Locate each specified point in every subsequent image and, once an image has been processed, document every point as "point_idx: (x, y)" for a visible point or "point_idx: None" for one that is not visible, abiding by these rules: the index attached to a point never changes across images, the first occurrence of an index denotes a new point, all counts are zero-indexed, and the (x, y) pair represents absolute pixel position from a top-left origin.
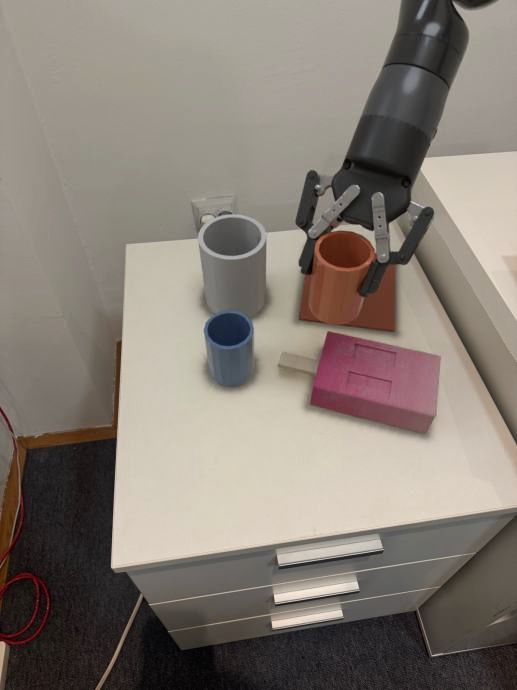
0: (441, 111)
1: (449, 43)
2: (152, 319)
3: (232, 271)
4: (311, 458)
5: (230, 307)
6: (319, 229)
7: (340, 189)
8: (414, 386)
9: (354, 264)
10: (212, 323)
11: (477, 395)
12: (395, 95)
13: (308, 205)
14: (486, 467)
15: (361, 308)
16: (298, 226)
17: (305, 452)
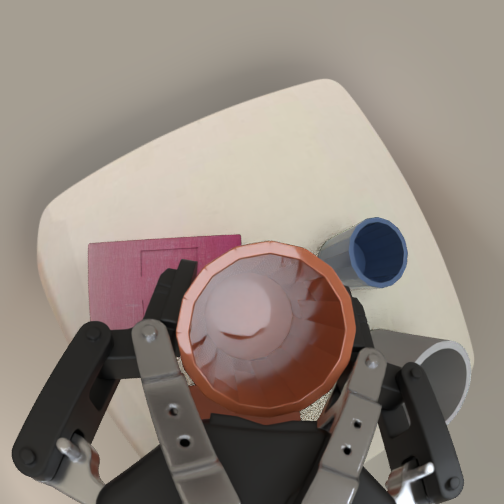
0: None
1: None
2: (436, 292)
3: (414, 345)
4: (217, 181)
5: (380, 333)
6: (364, 371)
7: (365, 497)
8: (113, 277)
9: (233, 373)
10: (399, 260)
11: (63, 319)
12: None
13: (422, 416)
14: (54, 234)
15: (214, 412)
16: (411, 362)
17: (225, 185)
